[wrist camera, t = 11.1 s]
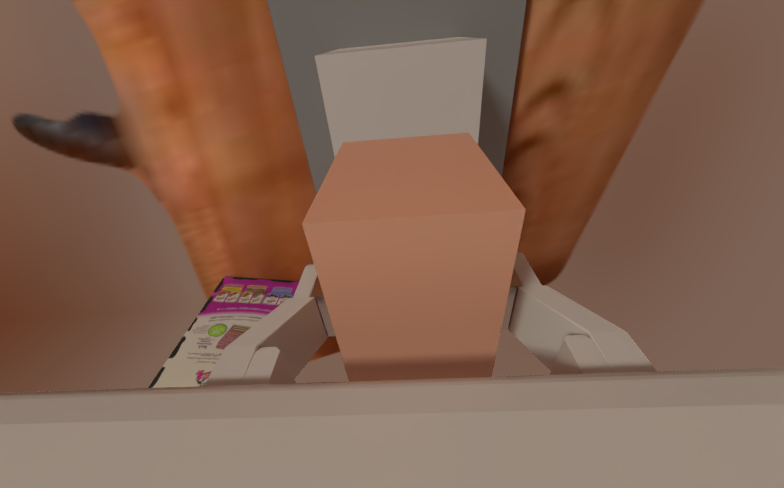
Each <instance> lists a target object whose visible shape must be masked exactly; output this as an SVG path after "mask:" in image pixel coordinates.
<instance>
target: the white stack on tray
mask: <svg viewBox="0 0 784 488" xmlns="http://www.w3.org/2000/svg"><path fill="white" fill-rule="evenodd" d="M526 1H527V0H267V2H268V6H269V10H270V14H271V18H272V22H273V26H274V29H275V33H276V37H277V41H278V45H279V49H280V53H281V57H282V61H283V65H284V69H285V73H286V77H287V81H288V84H289V88H290V92H291V96H292V100H293V104H294V108H295V112H296V116H297V120H298V124H299V128H300V132H301V136H302V140H303V143H304V147H305V151H306V155H307V159H308V163H309V167H310V171H311V175H312V179H313V183H314V187H315V191H316V195H317V193H318V191H319V189H320V187H321V185H322V183H323V181H324V179H325V177H326V175H327V173H328V171H329V169H330V167H331V165H332V163H333V161H334V159H335V157H336V155H337V153H338V151H339V149H340V147H341V145H342V143H343V142H355V141H367V140H380V139H393V138H405V137H418V136H430V135H443V134H456V133H468V132H469V134H470V135H471V136H472V138H473V139H474V140H475V142H476V143H477V144H478V146H479V147H480V148H481V150H482V151H483V152H484V154H485V155H486V157H487V158H488V159H489V161H490V162H491V163H492V165H493V166H494V167H495V169H496V170H497V171H498V173H499V174H500V175H501V177H502V174H503V167H504V160H505V152H506V145H507V138H508V131H509V124H510V116H511V109H512V102H513V95H514V88H515V80H516V73H517V66H518V59H519V52H520V45H521V37H522V30H523V23H524V16H525V9H526Z"/></svg>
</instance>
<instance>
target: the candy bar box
mask: <svg viewBox="0 0 784 488" xmlns="http://www.w3.org/2000/svg"><path fill="white" fill-rule="evenodd" d="M298 284H299V281H286V280H270V279H253V278H237V277H223V279H222V281H221V282H220V283H219V285H218V286H217V288H216V289H215V291H214V292H213V294H212V295H211V297H210V298H209V300H208V301H207V302H206V304H205V305H204V307H203V309H202V310H201V311H200V313H199V314H198V316H197V317H196V319H195V320H194V322H193V323H192V325H191V326H190V328H189V329H188V330H187V332H186V333H185V335H184V336H183V338H182V339H181V341H180V342H179V343H178V345H177V346H176V348H175V349H174V351H173V352H172V354H171V355H170V357H169V358H168V360H167V361H166V363H165V364H164V365H163V367H162V368H161V370H160V371H159V373H158V374H157V376H156V377H155V379H154V380H153V381H152V383H151V384H150V386H149V387H148V388H166V387H197V386H204V385H205V383H206V381H207V380H208V378H209V376H210V374H211V372H212V371H213V369H214V367H215V365H216V363H217V362H218V360H219V358H220V356H221V354H222V352H223V351H224V349H225V347H227V346H228V345H229V344H230V343H232V342H233V341H234V340H236V339H237V338H238V337H239V336H241V335H242V334H243V333H245V332H246V331H247V330H248V329H250V328H251V327H252V326H254V325H255V324H256V323H257V322H259V321H260V320H261V319H263V318H264V317H265V316H266V315H268V314H269V313H270V312H272V311H273V310H274V309H275V308H277V307H278V306H279V305H281V304H282V303H283V302H284V301H286V300H287V299H288V298H293V296H294V294H295V291H296V289H297V286H298Z"/></svg>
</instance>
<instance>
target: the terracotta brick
mask: <svg viewBox="0 0 784 488" xmlns="http://www.w3.org/2000/svg"><path fill="white" fill-rule="evenodd" d="M525 210H526V209H525V208H524V207H523V205H522V204H521V202H520V201H519V200H518V198H517V197H516V196H515V194H514V193H513V192H512V190H511V189H510V188H509V186H508V185H507V184H506V182H505V181H504V179H503V178H502V177H501V175H500V174H499V173H498V171H497V170H496V169H495V167H494V166H493V165H492V163H491V162H490V161H489V159H488V158H487V157H486V155H485V154H484V152H483V151H482V150H481V148H480V147H479V146H478V144H477V143H476V142H475V140H474V139H473V138H472V136H471V135H470V134H469V132H468V133H456V134H443V135H430V136H418V137H405V138H393V139H380V140H367V141H355V142H343V143H342V145H341V147H340V149H339V151H338V153H337V155H336V157H335V159H334V161H333V163H332V165H331V167H330V169H329V171H328V173H327V175H326V177H325V179H324V181H323V183H322V185H321V187H320V189H319V191H318V193H317V195H316V197H315V199H314V201H313V203H312V205H311V207H310V209H309V211H308V213H307V215H306V217H305V219H304V221H303V223H302V225H303V228H304V232H305V235H306V238H307V242H308V245H309V249H310V252H311V255H312V259H313V262H314V265H315V269H316V272H317V275H318V279H319V282H320V285H321V289H322V292H323V295H324V299H325V302H326V305H327V309H328V312H329V315H330V319H331V322H332V325H333V329H334V332H335V335H336V339H337V342H338V345H339V349H340V352H341V355H342V359H343V362H344V366H345V369H346V372H347V375H348V379H349V382H350V381H381V380H413V379H444V378H475V377H492V372H493V367H494V362H495V358H496V353H497V348H498V343H499V338H500V333H501V328H502V323H503V318H504V313H505V308H506V303H507V299H508V294H509V289H510V284H511V279H512V274H513V269H514V264H515V259H516V254H517V249H518V244H519V239H520V235H521V230H522V225H523V220H524V215H525Z"/></svg>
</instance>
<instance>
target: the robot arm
mask: <svg viewBox="0 0 784 488" xmlns="http://www.w3.org/2000/svg"><path fill="white" fill-rule="evenodd" d="M501 329H509V331H510V332H511V333H512V334H513V335H514V336H515V337H516V338H517V339H518V340H519V341H521V342H522V343H523V344H524V345H525V346H526V347H527V348H528V349H529V350H530V351H531V352H532V353H533V354H534V355H535V356H536V357H537V358H538V359H539V360H541V362H542V363H544V364H545V365H546V366H547V367H548V368H549V369H550V370H551V373H550V375H537V376H536V375H535V376H505V377H475V378H444V379H413V380H381V381H350V382H321V383H295V380H294V379H295V377H296V376H297V375H298V374H299V373H300V371H301V370H302V369H303V368H304V367H305V365H306V364H307V363H308V362H309V360H310V359H311V358H312V357H313V355H314V354H315V353H316V352H317V351H318V349H319V348H320V347H321V346H322V344H323V343H324V342H325V341H326V340H327V338H328V337H329V336H336V335H335V332H334V329H333V325H332V322H331V319H330V315H329V312H328V309H327V305H326V302H325V299H324V295H323V292H322V289H321V285H320V282H319V279H318V275H317V272H316V269H315V265H314V264H308V265H307V266H306V267H305V269H304V271H303V274H302V276H301V279H300V281H299V284H298V286H297V289H296V291H295V294H294V296H293V298H288V299H287V300H286V301H284V302H283V303H282V304H281V305H279V306H278V307H277V308H275V309H274V310H273V311H272V312H270V313H269V314H268V315H266V316H265V317H264V318H263V319H261V320H260V321H259V322H257V323H256V324H255V325H254V326H252V327H251V328H250V329H248V330H247V331H246V332H245V333H243V334H242V335H241V336H239V337H238V338H237V339H236V340H234V341H233V342H232V343H230V344H229V345H228V346H227V347H225V349H224V351H223V352H222V354H221V356H220V358H219V360H218V362H217V363H216V365H215V367H214V369H213V371H212V372H211V374H210V376H209V378H208V380H207V381H206V383H205V385H204V386H197V387H166V388H138V389H137V388H136V389H106V390H76V391H50V392H49V391H46V392H16V393H0V488H784V368H753V369H721V370H690V371H660V372H659V371H658V372H657V371H656V370H655V368H654V367H653V366H652V364H651V363H650V362H649V361H648V360H647V358H646V357H645V355H644V354H643V353H642V351H641V350H640V349H639V348H638V346H637V345H636V344H635V342H634V341H633V340H632V338H631V337H630V336H629V335H628V333H627V332H626V331H624V330H622V329H621V328H619V327H617V326H616V325H614V324H612V323H610V322H609V321H607V320H605V319H604V318H602V317H600V316H598V315H597V314H595V313H593V312H591V311H590V310H588V309H586V308H585V307H583V306H581V305H579V304H578V303H576V302H574V301H573V300H571V299H569V298H567V297H565V296H564V295H562V294H561V293H559V292H557V291H555V290H554V289H552V288H550V287H549V286H547V285H546V286H542V285H541V283H540V281H539V280H538V278H537V276H536V275H535V273H534V271H533V270H532V268H531V266H530V265H529V263H528V261H527V259H526V258H525V256H524V254H523V253H521V252H517V254H516V259H515V264H514V269H513V274H512V279H511V284H510V289H509V294H508V299H507V303H506V308H505V313H504V318H503V323H502V328H501Z"/></svg>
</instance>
